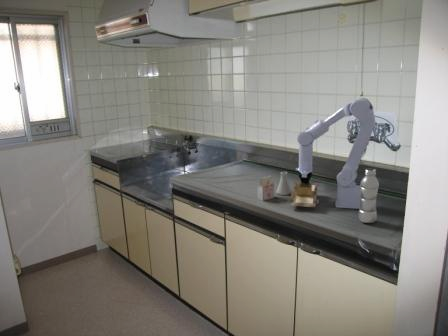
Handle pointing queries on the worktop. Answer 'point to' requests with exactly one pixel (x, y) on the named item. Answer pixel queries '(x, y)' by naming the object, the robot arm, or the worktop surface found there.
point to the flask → (283, 185)
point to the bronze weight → (304, 189)
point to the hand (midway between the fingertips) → (304, 189)
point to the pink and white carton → (265, 188)
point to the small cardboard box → (303, 197)
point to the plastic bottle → (368, 197)
